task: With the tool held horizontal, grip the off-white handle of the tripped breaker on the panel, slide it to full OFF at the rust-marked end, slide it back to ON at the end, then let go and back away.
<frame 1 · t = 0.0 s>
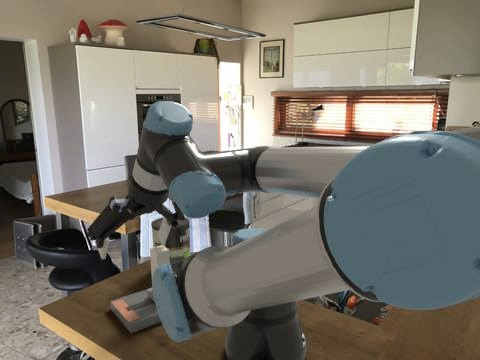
hand: (132, 246, 85), 15 cm above the counter, tool tilted 35°, fingers open, 13 cm apart
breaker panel: (162, 305, 90), on the counter
coffee can: (173, 270, 109), on the counter
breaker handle: (160, 273, 88), point 8 cm above the counter, slide at 6.0 cm
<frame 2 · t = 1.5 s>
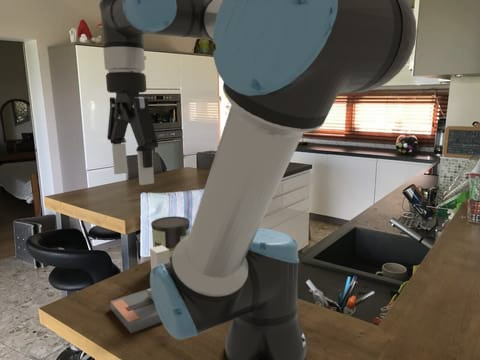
hand: (133, 178, 81), 31 cm above the counter, tool pointing down, fingers open, 13 cm apart
nothing on the counter moved.
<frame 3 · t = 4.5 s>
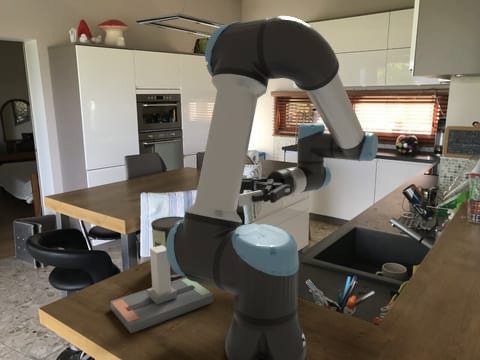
hand: (222, 194, 96), 24 cm above the counter, tool horizontal, fingers open, 13 cm apart
nothing on the counter moved.
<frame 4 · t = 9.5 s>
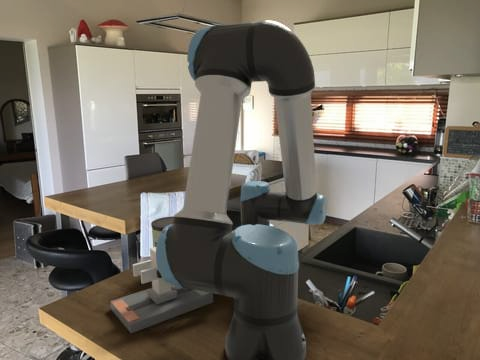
hand: (137, 273, 85), 10 cm above the counter, tool horizontal, fingers closed on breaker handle, 3 cm apart
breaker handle: (160, 273, 88), point 8 cm above the counter, slide at 6.0 cm, touching gripper
everything else where it was.
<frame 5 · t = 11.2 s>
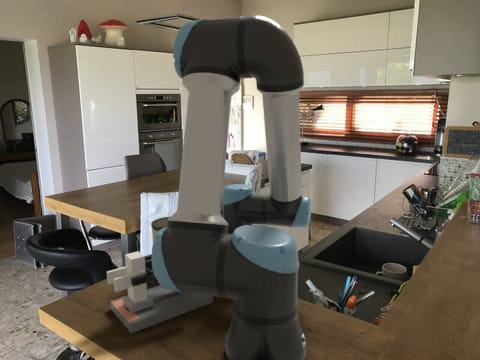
hand: (111, 281, 82), 9 cm above the counter, tool horizontal, fingers closed on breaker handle, 3 cm apart
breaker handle: (136, 280, 85), point 8 cm above the counter, slide at 11.8 cm, touching gripper
everything else where it was.
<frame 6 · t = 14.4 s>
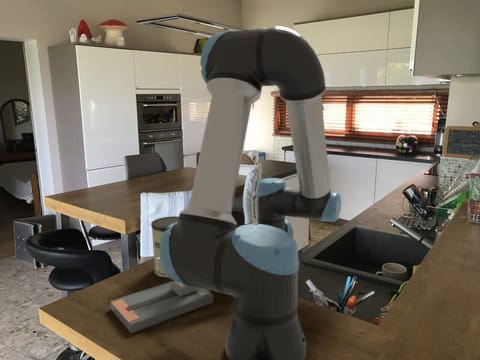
hand: (161, 266, 88), 10 cm above the counter, tool horizontal, fingers closed on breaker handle, 3 cm apart
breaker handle: (183, 266, 92), point 8 cm above the counter, slide at 0.3 cm, touching gripper
everything else where it was.
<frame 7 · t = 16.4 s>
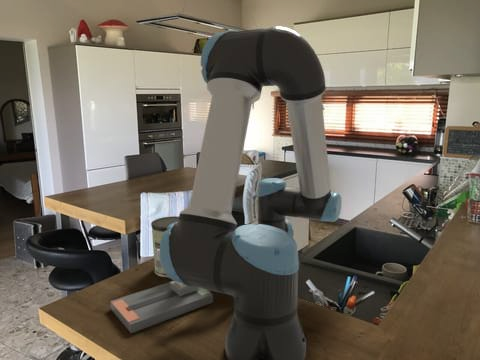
hand: (170, 264, 90), 10 cm above the counter, tool horizontal, fingers open, 13 cm apart
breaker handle: (183, 266, 92), point 8 cm above the counter, slide at 0.2 cm
everything else where it was.
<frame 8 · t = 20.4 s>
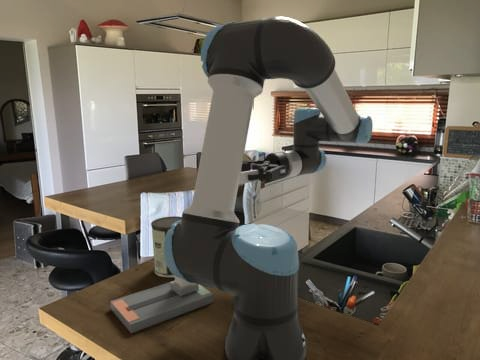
hand: (219, 174, 98), 28 cm above the counter, tool horizontal, fingers open, 13 cm apart
nothing on the counter moved.
at the end: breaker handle slide at 0.2 cm; the gripper is holding nothing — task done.
